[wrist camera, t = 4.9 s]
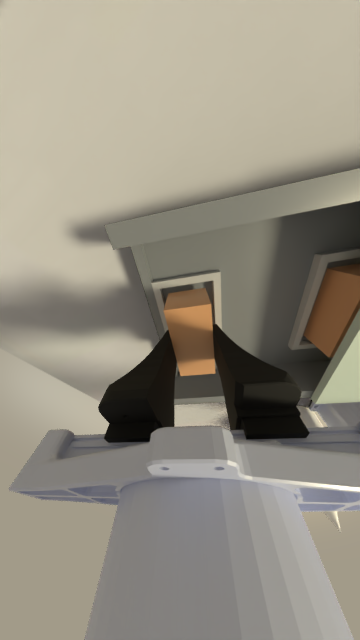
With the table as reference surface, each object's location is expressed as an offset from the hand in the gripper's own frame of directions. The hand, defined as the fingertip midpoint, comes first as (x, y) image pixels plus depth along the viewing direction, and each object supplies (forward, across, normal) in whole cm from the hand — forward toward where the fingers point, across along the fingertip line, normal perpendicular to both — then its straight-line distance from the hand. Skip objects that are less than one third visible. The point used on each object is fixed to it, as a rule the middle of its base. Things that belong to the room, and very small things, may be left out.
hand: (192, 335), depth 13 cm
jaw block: (+2, 0, 0) cm, 2 cm away
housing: (+3, -7, 0) cm, 8 cm away
